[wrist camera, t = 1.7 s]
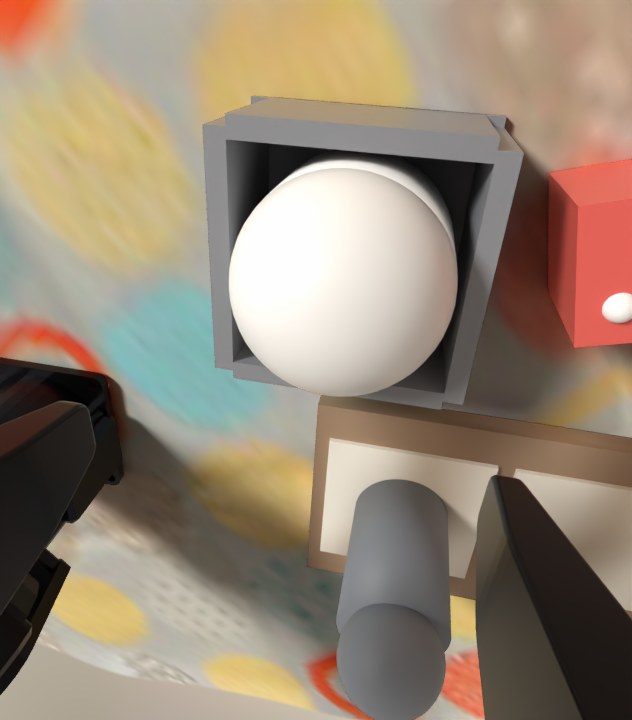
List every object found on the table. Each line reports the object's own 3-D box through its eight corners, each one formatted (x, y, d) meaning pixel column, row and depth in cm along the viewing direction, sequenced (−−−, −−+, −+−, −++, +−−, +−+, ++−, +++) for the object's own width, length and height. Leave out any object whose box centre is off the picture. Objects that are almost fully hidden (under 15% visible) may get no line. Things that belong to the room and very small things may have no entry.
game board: (310, 550, 28) (306, 570, 27) (322, 390, 22) (317, 407, 21) (803, 646, 24) (819, 672, 23) (949, 486, 19) (978, 511, 18)
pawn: (351, 536, 25) (318, 732, 18) (359, 471, 23) (326, 665, 16) (439, 552, 24) (440, 761, 17) (456, 488, 22) (465, 696, 15)
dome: (263, 319, 19) (200, 423, 14) (264, 138, 16) (182, 183, 11) (435, 343, 18) (436, 462, 13) (472, 156, 15) (492, 216, 10)
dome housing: (254, 315, 21) (215, 375, 17) (253, 95, 17) (201, 111, 13) (455, 342, 20) (460, 412, 16) (505, 115, 16) (527, 139, 12)
